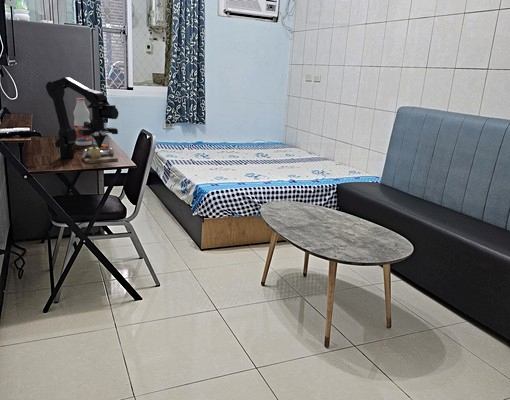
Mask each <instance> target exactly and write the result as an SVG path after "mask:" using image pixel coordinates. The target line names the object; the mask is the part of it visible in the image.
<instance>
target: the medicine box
mask: <svg viewBox="0 0 510 400" xmlns="http://www.w3.org/2000/svg"><path fill="white" fill-rule="evenodd" d="M106 135H107V136H106V137H105V139H104V141H103V143H102V144H105V145H109V146H110V141H109V140H110V139H109V133H106ZM92 143H96V141H95V139H94V137H93V136H92Z"/></svg>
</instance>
